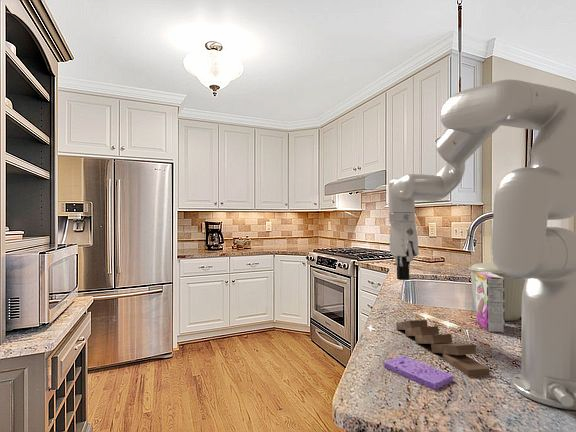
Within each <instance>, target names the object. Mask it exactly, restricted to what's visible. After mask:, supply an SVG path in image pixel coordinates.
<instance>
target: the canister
mask: <svg viewBox="0 0 576 432" xmlns="http://www.w3.org/2000/svg"><path fill="white" fill-rule="evenodd" d="M491 261H492V262H479V263H474V264H472V265H471V266H468V270H469V271H470V278H471V288H472V289H471V290H472V297H473V303H474V308H475V310H476V272H491V273H493V274H496V275H498V276H500V277H503V278H504V319H505V321H506V322H508V321H509V322H511V321H512V322H513V321H517V320H518V319H519V318H521V317H522V292H523V287H524V284H525V281H526V279H515V278H511V277H508V276H507V275H505V274H503V273H502V272H501V271H500V270H499V269H498V268H497V266H496V264H495V262H494V259H493V257H492V258H491Z"/></svg>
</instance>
